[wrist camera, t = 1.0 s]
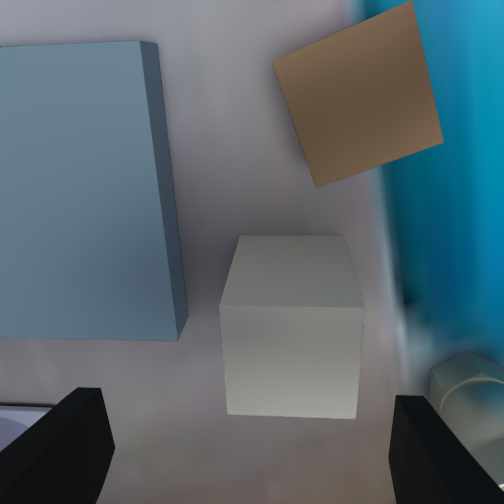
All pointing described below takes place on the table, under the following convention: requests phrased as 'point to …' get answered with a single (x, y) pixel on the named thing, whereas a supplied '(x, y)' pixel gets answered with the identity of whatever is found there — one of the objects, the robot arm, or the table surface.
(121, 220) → the base board
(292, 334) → the white block
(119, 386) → the table surface
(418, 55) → the walnut block
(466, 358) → the valve
